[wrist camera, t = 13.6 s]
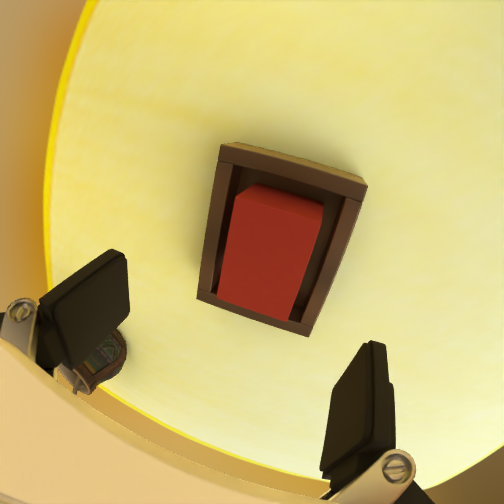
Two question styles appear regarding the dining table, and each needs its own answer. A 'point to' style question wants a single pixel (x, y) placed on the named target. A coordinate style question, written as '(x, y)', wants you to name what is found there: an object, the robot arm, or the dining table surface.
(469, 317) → the dining table surface
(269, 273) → the red block
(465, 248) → the dining table surface
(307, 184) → the brown shallow rectangular box
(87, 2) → the dining table surface
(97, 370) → the mate gourd
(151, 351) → the dining table surface
